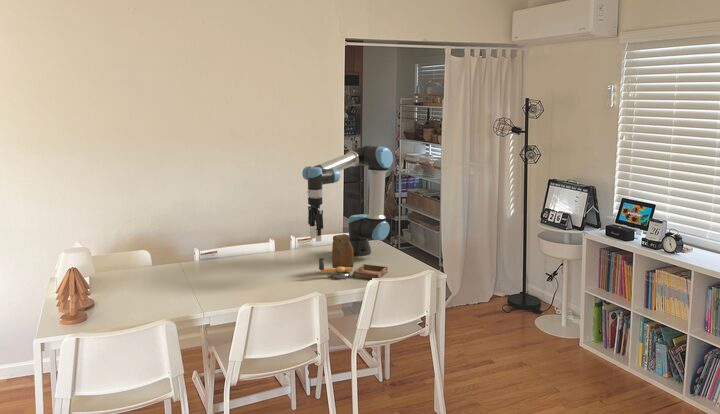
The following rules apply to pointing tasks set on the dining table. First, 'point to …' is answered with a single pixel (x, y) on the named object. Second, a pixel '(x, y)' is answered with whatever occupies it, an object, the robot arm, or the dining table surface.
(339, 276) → the crank base
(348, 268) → the crank
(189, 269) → the dining table surface
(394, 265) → the dining table surface
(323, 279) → the dining table surface
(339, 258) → the block
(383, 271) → the tray
